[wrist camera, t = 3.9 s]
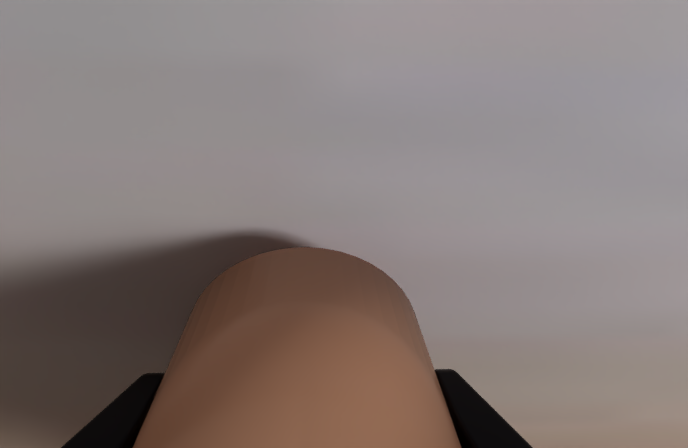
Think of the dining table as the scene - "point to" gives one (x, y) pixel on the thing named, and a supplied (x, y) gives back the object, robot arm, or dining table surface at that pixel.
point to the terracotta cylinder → (300, 362)
